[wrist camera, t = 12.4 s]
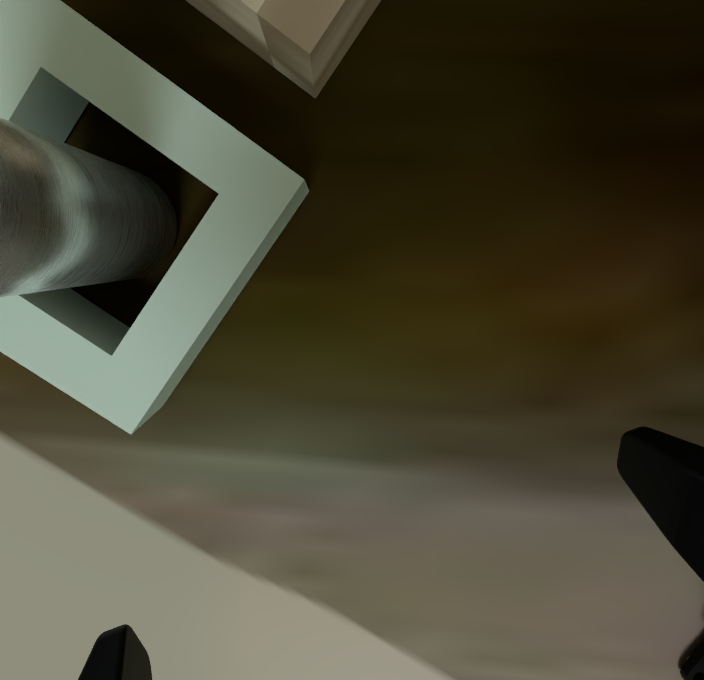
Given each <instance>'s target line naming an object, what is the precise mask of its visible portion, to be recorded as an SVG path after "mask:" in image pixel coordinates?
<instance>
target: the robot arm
mask: <svg viewBox="0 0 704 680" xmlns="http://www.w3.org/2000/svg"><path fill="white" fill-rule="evenodd" d="M617 468H618V471H619V473H620V475H621V477H622V478H623V480H624V481H625V483H626V484H627V485H628V487H629V488H630V489H631V491H632V492H633V494H634V495H635V496H636V498H637V499H638V500H639V502H640V503H641V504H642V506H643V507H644V509H645V510H646V511H647V513H648V514H649V515H650V517H651V518H652V520H653V521H654V522H655V524H656V525H657V526H658V528H659V529H660V530H661V532H662V533H663V535H664V536H665V537H666V538H667V540H668V541H669V542H670V544H671V545H672V546H673V547H674V548H675V550H676V551H677V552H678V553H679V554H680V556H681V557H682V558H683V559H684V560H685V561H686V562H687V564H688V565H689V566H690V567H691V568H692V569H693V570H694V572H695V573H696V574H697V575H698V576H699V577H700V578H701V579H702V581H703V582H704V447H702V446H699V445H696V444H693V443H691V442H688V441H685V440H682V439H679V438H677V437H674V436H671V435H668V434H666V433H663V432H660V431H657V430H654V429H652V428H648V427H638V428H636V429H633V430H630V431H628V432H625V433H624V434H623V435H622V438H621V442H620V448H619V453H618V459H617ZM680 673H681V676H682V678H683V679H684V680H704V641H703V642H702V643H701V644H700V645H699V647H698V648H697V649H696V650H695V651H694V652H693V653H692V654H691V656H690V657H689V658H688V659H687V660H686V661H685V662H684V664H683V665H682V667H681V670H680ZM696 673H697V674H696ZM695 674H696V675H695ZM78 680H152V673H151V665H150V661H149V656H148V654H147V651H146V650H145V648H144V646H143V645H142V643H141V642H140V640H139V639H138V637H137V635H136V634H135V632H134V631H133V630H132V628H131V627H130V626H129V625H126V624H125V625H121V626H119V627H116V628H113V629H111V630H108V631H106V632H104V633H102V634H101V635H100V636H99V637H98V639H97V640H96V642H95V644H94V646H93V648H92V651H91V653H90V655H89V657H88V659H87V661H86V664H85V666H84V668H83V670H82V672H81V674H80V676H79V678H78Z"/></svg>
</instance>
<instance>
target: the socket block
mask: <svg viewBox="0 0 704 680" xmlns="http://www.w3.org/2000/svg"><path fill="white" fill-rule="evenodd" d="M89 101H90V102H91V103H92V104H94V105H95V106H97V107H98V108H99V109H101V110H102V111H104V112H105V113H106V114H108V115H109V116H111V117H112V118H113V119H115V120H116V121H118V122H119V123H120V124H122V125H123V126H125V127H126V128H127V129H129V130H130V131H132V132H133V133H134V134H136V135H137V136H139V137H140V138H141V139H143V140H144V141H146V142H147V143H148V144H150V145H151V146H153V147H154V148H155V149H157V150H158V151H160V152H161V153H162V154H164V155H165V156H167V157H168V158H169V159H171V160H172V161H174V162H175V163H176V164H178V165H179V166H181V167H182V168H183V169H185V170H186V171H188V172H189V173H190V174H192V175H193V176H195V177H196V178H197V179H199V180H200V181H202V182H203V183H204V184H206V185H207V186H209V187H210V188H211V189H213V190H214V191H216V192H217V193H218V196H217V197H216V199H215V200H214V202H213V203H212V205H211V206H210V208H209V210H208V211H207V213H206V214H205V216H204V217H203V219H202V220H201V222H200V223H199V225H198V226H197V228H196V229H195V231H194V232H193V234H192V235H191V237H190V238H189V240H188V241H187V243H186V244H185V246H184V247H183V249H182V250H181V252H180V253H179V255H178V256H177V258H176V259H175V261H174V262H173V264H172V266H171V267H170V269H169V270H168V272H167V273H166V275H165V276H164V278H163V279H162V281H161V282H160V284H159V285H158V287H157V288H156V290H155V291H154V293H153V294H152V296H151V297H150V299H149V300H148V302H147V303H146V305H145V306H144V308H143V309H142V311H141V312H140V314H139V315H138V317H137V318H136V320H135V322H134V323H133V325H132V326H131V328H129V327H128V326H126V325H125V324H123V323H122V322H120V321H119V320H117V319H116V318H114V317H113V316H111V315H110V314H108V313H107V312H105V311H104V310H102V309H101V308H99V307H98V306H96V305H95V304H93V303H92V302H90V301H89V300H87V299H86V298H84V297H83V296H81V295H80V294H78V293H77V292H75V291H73V290H72V289H70V288H64V289H57V290H50V291H42V292H35V293H28V294H21V295H14V296H7V297H0V352H2V353H4V354H5V355H7V356H8V357H10V358H11V359H13V360H15V361H16V362H18V363H19V364H21V365H22V366H24V367H26V368H27V369H29V370H30V371H32V372H33V373H35V374H37V375H38V376H40V377H41V378H43V379H44V380H46V381H48V382H49V383H51V384H52V385H54V386H55V387H57V388H59V389H60V390H62V391H63V392H65V393H66V394H68V395H70V396H71V397H73V398H74V399H76V400H77V401H79V402H81V403H82V404H84V405H85V406H87V407H88V408H90V409H92V410H93V411H95V412H96V413H98V414H99V415H101V416H103V417H104V418H106V419H107V420H109V421H110V422H112V423H114V424H115V425H117V426H118V427H120V428H121V429H123V430H125V431H126V432H128V433H129V434H132V433H133V432H134V431H136V430H137V429H138V428H139V427H140V426H141V425H142V424H143V423H144V422H146V421H147V420H148V419H149V418H150V417H151V416H152V415H153V414H154V413H156V412H157V411H158V410H159V409H160V408H161V407H162V406H163V405H164V404H165V402H166V401H167V399H168V398H169V396H170V395H171V393H172V392H173V390H174V389H175V387H176V386H177V385H178V383H179V382H180V380H181V379H182V377H183V376H184V374H185V373H186V371H187V370H188V368H189V367H190V365H191V364H192V363H193V361H194V360H195V358H196V357H197V355H198V354H199V352H200V351H201V349H202V348H203V346H204V345H205V344H206V342H207V341H208V339H209V338H210V336H211V335H212V333H213V332H214V330H215V329H216V327H217V326H218V324H219V323H220V322H221V320H222V319H223V317H224V316H225V314H226V313H227V311H228V310H229V308H230V307H231V305H232V304H233V303H234V301H235V300H236V298H237V297H238V295H239V294H240V292H241V291H242V289H243V288H244V286H245V285H246V283H247V282H248V281H249V279H250V278H251V276H252V275H253V273H254V272H255V270H256V269H257V267H258V266H259V264H260V263H261V262H262V260H263V259H264V257H265V256H266V254H267V253H268V251H269V250H270V248H271V247H272V245H273V244H274V242H275V241H276V240H277V238H278V237H279V235H280V234H281V232H282V231H283V229H284V228H285V226H286V225H287V223H288V222H289V220H290V219H291V218H292V216H293V215H294V213H295V212H296V210H297V209H298V207H299V206H300V204H301V203H302V201H303V200H304V199H305V197H306V196H307V194H308V193H309V189H308V187H307V184H306V182H305V180H304V179H303V178H302V177H300V176H299V175H298V174H296V173H295V172H294V171H292V170H291V169H290V168H288V167H287V166H285V165H284V164H283V163H281V162H280V161H279V160H277V159H276V158H275V157H273V156H272V155H270V154H269V153H268V152H266V151H265V150H264V149H262V148H261V147H260V146H258V145H257V144H256V143H254V142H253V141H251V140H250V139H249V138H247V137H246V136H245V135H243V134H242V133H241V132H239V131H238V130H236V129H235V128H234V127H232V126H231V125H230V124H228V123H227V122H226V121H224V120H223V119H221V118H220V117H219V116H217V115H216V114H215V113H213V112H212V111H211V110H209V109H208V108H206V107H205V106H204V105H202V104H201V103H200V102H198V101H197V100H196V99H194V98H193V97H191V96H190V95H189V94H187V93H186V92H185V91H183V90H182V89H181V88H179V87H178V86H176V85H175V84H174V83H172V82H171V81H170V80H168V79H167V78H166V77H164V76H163V75H161V74H160V73H159V72H157V71H156V70H155V69H153V68H152V67H151V66H149V65H148V64H146V63H145V62H144V61H142V60H141V59H140V58H138V57H137V56H136V55H134V54H133V53H131V52H130V51H129V50H127V49H126V48H125V47H123V46H122V45H121V44H119V43H118V42H116V41H115V40H114V39H112V38H111V37H110V36H108V35H107V34H106V33H104V32H103V31H101V30H100V29H99V28H97V27H96V26H95V25H93V24H92V23H91V22H89V21H88V20H87V19H85V18H84V17H82V16H81V15H80V14H78V13H77V12H76V11H74V10H73V9H72V8H70V7H69V6H67V5H66V4H65V3H63V2H62V1H61V0H0V118H2V119H5V120H7V121H10V122H12V123H15V124H18V125H20V126H23V127H25V128H28V129H30V130H33V131H35V132H38V133H40V134H43V135H45V136H48V137H50V138H53V139H55V140H58V141H60V142H63V143H64V142H65V140H66V138H67V137H68V135H69V134H70V132H71V130H72V129H73V127H74V125H75V124H76V122H77V121H78V119H79V117H80V116H81V114H82V112H83V111H84V109H85V108H86V106H87V104H88V103H89Z"/></svg>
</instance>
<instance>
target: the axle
mask: <svg viewBox="0 0 704 680" xmlns="http://www.w3.org/2000/svg"><path fill="white" fill-rule="evenodd" d="M176 234H177V221H176V215H175V212H174V208H173V206H172V204H171V201H170V200H169V198H168V196H167V195H166V193H165V192H164V191H163V189H162V188H161V187H160V186H159V185H158V184H157V183H155V182H154V181H153V180H152V179H150V178H148V177H147V176H145V175H143V174H141V173H139V172H136V171H134V170H131V169H129V168H126V167H124V166H121V165H119V164H116V163H114V162H111V161H108V160H106V159H103V158H101V157H98V156H96V155H93V154H91V153H88V152H86V151H83V150H81V149H78V148H76V147H73V146H71V145H68V144H66V143H63V142H60V141H58V140H55V139H53V138H50V137H48V136H45V135H43V134H40V133H38V132H35V131H33V130H30V129H28V128H25V127H23V126H20V125H18V124H15V123H12V122H10V121H7V120H5V119H2V118H0V297H7V296H14V295H21V294H28V293H35V292H42V291H50V290H57V289H64V288H71V287H78V286H85V285H92V284H100V283H107V282H114V281H121V280H128V279H135V278H139V277H143V276H145V275H148V274H150V273H152V272H153V271H155V270H156V269H158V268H159V267H160V266H161V265H162V264H163V263H164V262H165V261H166V259H167V258H168V257H169V255H170V253H171V251H172V249H173V247H174V244H175V240H176Z"/></svg>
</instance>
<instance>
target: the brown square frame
mask: <svg viewBox="0 0 704 680" xmlns="http://www.w3.org/2000/svg"><path fill="white" fill-rule="evenodd" d="M186 1H187V2H188V3H190V4H191V5H192V6H194V7H195V8H196V9H198V10H199V11H200V12H202V13H203V14H204V15H205V16H207V17H208V18H209V19H211V20H212V21H213V22H215V23H216V24H217V25H219V26H220V27H221V28H223V29H224V30H225V31H227V32H228V33H229V34H231V35H232V36H233V37H235V38H236V39H237V40H238V41H240V42H241V43H242V44H244V45H245V46H246V47H248V48H249V49H250V50H252V51H253V52H254V53H256V54H257V55H258V56H260V57H261V58H262V59H264V60H265V61H266V62H268V63H269V64H270V65H271V66H273V67H274V68H275V69H277V70H278V71H279V72H281V73H282V74H283V75H285V76H286V77H287V78H289V79H290V80H291V81H293V82H294V83H295V84H297V85H298V86H299V87H301V88H302V89H303V90H304V91H306V92H307V93H308V94H310V95H311V96H312V97H314V98H315V99H316V97H317V96H318V94H319V93H320V91H321V90H322V88H323V87H324V85H325V84H326V82H327V81H328V79H329V78H330V76H331V75H332V73H333V72H334V70H335V69H336V67H337V66H338V64H339V63H340V61H341V60H342V58H343V57H344V55H345V54H346V52H347V51H348V49H349V48H350V46H351V45H352V43H353V42H354V40H355V39H356V37H357V36H358V34H359V33H360V31H361V30H362V28H363V27H364V25H365V24H366V22H367V21H368V19H369V18H370V16H371V15H372V13H373V12H374V10H375V9H376V7H377V6H378V4H379V3H380V1H381V0H186Z"/></svg>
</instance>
